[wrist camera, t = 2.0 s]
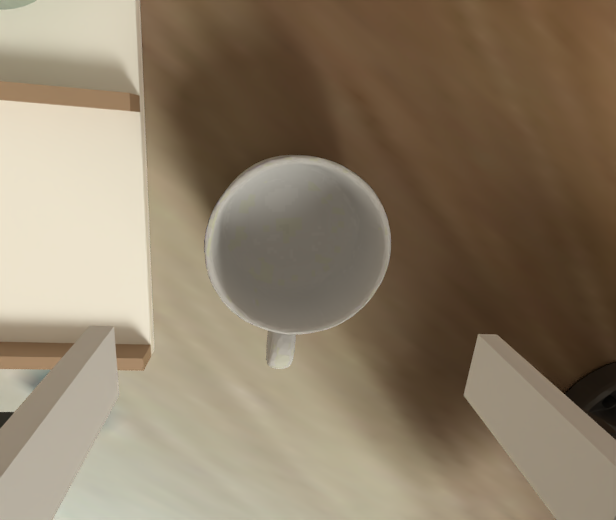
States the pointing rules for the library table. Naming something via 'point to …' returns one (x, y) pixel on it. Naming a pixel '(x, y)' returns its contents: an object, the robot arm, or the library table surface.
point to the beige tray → (73, 182)
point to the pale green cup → (14, 4)
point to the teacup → (296, 248)
